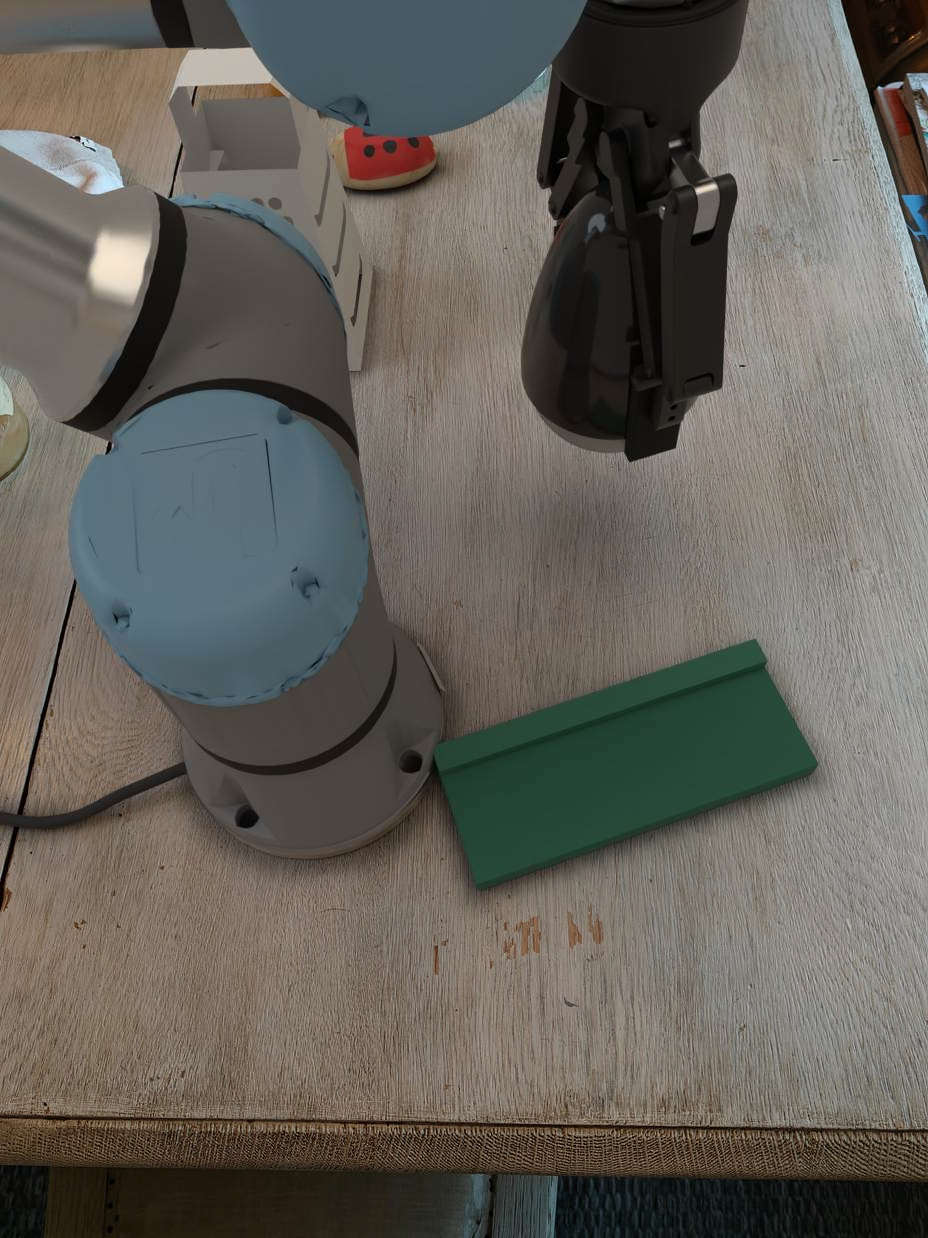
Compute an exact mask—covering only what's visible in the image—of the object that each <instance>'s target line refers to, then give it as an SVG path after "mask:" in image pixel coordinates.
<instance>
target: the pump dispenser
mask: <svg viewBox="0 0 928 1238" xmlns="http://www.w3.org/2000/svg"><path fill="white" fill-rule="evenodd" d="M597 178H598V184H597V185H596V186H594V187H593V188H592V189H590V190H589V191H588V192H587V193H585V194H584V195H583V196H582V197H581V199H580V200H579V201H578V202H577V203H576V204H575V206H574V207H573V208H572V209H571V211H570V212H569V214H568V215H567V216H566V218H565V220H564V221H563V223H562V224H561V226H560V228H559V230H558V232H557V234H556V236H555V238H554V240H553V239H552V242H551V244H550V246H549V248H548V251H547V253H546V256H545V258H544V261H543V263H542V266H541V269H540V271H539V274H538V277H537V279H536V283H535V286H534V289H533V293H532V296H531V299H530V304H529V307H528V311H527V317H526V321H525V326H524V331H523V335H522V343H521V351H520V379H521V382H522V387H523V389H524V392H525V394H526V396H527V399H528V400H529V401H530V403H531V404H532V406H533V407H534V409H535V410H536V412H537V414H538V415H539V417H540V419H541V420H542V421H543V422H544V424H545V425H546V426H547V427H548V428H549V429H550V431H552V432H553V433H554V434H555V435H556V436H558V437H559V438H560V439H562V440H563V441H565V442H566V443H569V444H571V445H572V446H574V447H577V448H580V449H582V450H584V451H589V452H593V453H601V454H619V453H624V448H625V440H626V432H627V424H628V416H629V408H630V400H631V392H632V381H631V377H630V376H632V375H634V368H635V366H638V365H641V364H644V359H643V351H642V343H641V335H640V327H639V319H638V311H637V303H636V295H635V287H634V279H633V271H632V263H631V255H630V247H629V240H628V238H627V237H626V236H624V235H622V234H620V233H619V232H618V231H617V228H616V223H615V216H614V208H613V200H612V193H611V185H610V180H609V179H608V178H607V177H606V176H605V175H604V174H603V173H602V171H601V172H600V173H599V174H598V176H597ZM666 199H667V196H665V197H664V198H661V199H657V200H654V201H650V202H647V203H643V204H638V205H635V204H634V205H635V212H636V214H638V213H642V212H645V211H649V210H652V209H656V208H659V207H660V206H661V205H663V204H666ZM699 397H700V396H697V397H694V398H691V399H688V400H687V405H686V410H685V415H686V414H687V413H688V412H689V411H690V410H691V409H692V407H693V406H694V405H695V403H696V402H697V400H698V398H699Z"/></svg>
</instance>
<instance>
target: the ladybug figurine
mask: <svg viewBox="0 0 928 1238" xmlns="http://www.w3.org/2000/svg"><path fill="white" fill-rule="evenodd" d="M329 148H330V150H331V153H332V156H333V159H334V162H335V165H336V168H337V171H338V174H339V176H340V179H341V182H342V185H343V187H344V188H349V189H353V190H360V191H374V190H387V189H394V188H398V187H402V186H406V185H409V184H412V183H414V182H416V181H418V180H421V179H422V178H424V177H425V176H427V175H428V174H429V173H430V172H432V170H433V169H434V168H435V166H436V165H437V162H438V158H439V157H440V154H441V150H440V147H439V146H437V145H435V144H434V142H433V140H432V139H431V136H421V137H410V138H407V137H385V136H379V135H373V134H368V133H365V132H364V131H363V130H362V129H361V128H359V127H354V126H350V127H348V128H345V129H344V130H342V131H341V132H339V134H337V135H336V136H335V137H334V138H333V139H332V141H331V142H330V145H329Z"/></svg>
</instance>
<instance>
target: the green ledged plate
mask: <svg viewBox="0 0 928 1238" xmlns="http://www.w3.org/2000/svg"><path fill="white" fill-rule="evenodd" d="M767 663H768V658H767V657H766V654H765V653H764V651H763V649H762V647H761V646H760V644H759V641H758V640H757V639H756V638H752V639H750V640H746V641H743V642H740V643H737V644H734V645H731V646H728V647H725V648H722V649H719V650H716V651H713V652H710V653H707V654H704V655H701V656H699V657H695V658H691V659H688V660H685V661H683V662H680V663H677V664H674V665H671V666H668V667H666V668H661V669H659V670H656V671H653V672H649V673H647V674H643V675H641V676H638V677H635V678H633V679H630V680H627V681H623V682H620V683H618V684H617V683H616V684H615V685H611V686H608V687H605V688H602V689H599V690H596V691H593V692H590V693H588V694H585V695H582V696H581V695H580V696H578V697H576V698H573V699H569V700H566V701H564V702H560V703H557V704H555V705H552V706H549V707H545V708H543V709H540V710H539V709H538V710H536V711H534V712H531V713H528V714H524V715H522V716H518V717H515V718H512V719H509V720H506V721H504V722H501V723H497V724H494V725H492V726H488V727H486V728H482V729H479V730H477V731H474V732H471V733H468V734H465V735H461V736H459V737H456V738H453V739H449V740H447V741H445V742H444V743H441V744H438V745H436V747H435V750H434V753H433V755H434V759H435V762H436V766H437V774H438V776H439V779H440V783H441V786H442V788H443V790H444V794H445V797H446V800H447V803H448V806H449V810H450V812H451V815H452V819H453V821H454V824H455V827H456V831H457V833H458V837H459V839H460V842H461V845H462V848H463V851H464V854H465V856H466V860H467V863H468V865H469V868H470V872H471V874H472V877H473V880H474V884H475V887H476V889H477V891H478V892H481V891H483V890H487V889H488V888H491V887H494V886H497V885H500V884H503V883H505V882H508V881H511V880H514V879H518V878H520V877H523V876H526V875H529V874H531V873H535V872H537V871H540V870H542V869H546V868H548V867H551V866H554V865H557V864H560V863H563V862H565V861H568V860H571V859H575V858H577V857H580V856H582V855H585V854H588V853H591V852H594V851H596V850H600V849H603V848H606V847H608V846H611V845H614V844H617V843H619V842H622V841H625V840H629V839H631V838H633V837H636V836H639V835H642V834H645V833H648V832H651V831H654V830H656V829H659V828H662V827H665V826H667V825H668V826H669V825H670V824H674V823H676V822H679V821H682V820H685V819H687V818H690V817H694V816H696V815H699V814H701V813H705V812H708V811H710V810H713V809H716V808H719V807H721V806H722V807H723V806H725V805H728V804H730V803H734V802H736V801H739V800H742V799H744V798H747V797H750V796H753V795H756V794H758V793H761V792H764V791H767V790H770V789H773V788H775V787H776V788H777V787H778V786H781V785H784V784H788V783H790V782H793V781H795V780H798V779H799V780H800V779H801V778H804V777H806V776H810V775H812V774H813V773H814V772H815V771H816V769H817V768H818V767H819V762H818V760H817V759H816V756H815V755H814V753H813V751H812V750H811V747H810V746H809V744H808V742H807V740H806V739H805V737H804V735H803V733H802V731H801V730H800V728H799V726H798V724H797V721H795V719H794V717H793V714H792V713H791V711H790V710H789V708H788V706H787V704H786V702H785V700H784V699H783V697H782V695H781V693H780V691H779V690H778V688H777V686H776V684H775V683H774V681H773V679H772V677H771V675H770V673H769V672H768V670H767V668H766V665H767Z"/></svg>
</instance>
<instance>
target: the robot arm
mask: <svg viewBox="0 0 928 1238" xmlns="http://www.w3.org/2000/svg"><path fill="white" fill-rule="evenodd" d="M749 3H750V0H0V56H7V55H29V54H33V55H34V54H51V53H52V54H55V53H77V52H79V53H81V52H100V51H124V50H143V49H144V50H146V49H165V48H166V49H194V48H197V49H233V48H252V49H253V51H254V52H255V54H256V56H257V57H258V59H259V60H260V61H261V63H262V64H263V65H264V67H265V68H266V69H267V71H268V72H269V73H270V74H271V75H272V76H273V77H274V78H275V79H276V80H277V81H278V82H279V83H280V84H281V85H282V87H283V88H284V89H286V90H287V91H288V92H289V93H290V94H291V95H293V96H294V97H295V98H296V99H297V100H299V101H300V102H301V103H303V104H305V105H307V106H309V107H310V108H312V109H314V110H317V112H318V111H319V112H320V113H322V114H323V115H326V116H328V117H330V118H332V119H333V120H336V121H339V122H340V123H344V124H346V125H349V126H351V127H353V126H354V127H359V128H361V129H362V130H363V131H364V132H365V133H368V134H373V135H379V136H385V137H407V138H410V137H421V136H429V137H431V136H435V135H439V134H445V133H448V132H449V133H450V132H453V131H455V130H458V129H461V128H464V127H467V126H470V125H473V124H474V123H476V122H478V121H480V120H482V119H484V118H486V117H489V116H491V115H492V114H494V113H495V112H498V111H499V110H500V109H502V108H503V107H505V106H507V105H508V104H509V103H510V102H512V101H514V100H515V99H516V98H517V97H518V96H519V95H521V94H522V93H523V92H524V91H525V90H526V89H528V88H529V87H531V86H532V84H533V83H534V82H535V81H536V80H538V78H539V77H540V76H541V75H542V74H543V73H544V72H545V71H546V70H547V69H548V67H549V66H550V65H551V71H550V78H549V84H548V85H549V86H548V91H547V99H546V106H545V112H544V119H543V125H542V133H541V140H540V145H539V152H538V160H537V165H536V182H537V184H538V186H539V188H540V189H541V190H542V191H544V190H546V189H550V192H551V193H550V196H549V198H548V203H547V204H548V205H547V206H548V212H549V214H550V216H551V218H552V220H553V221H556V225H555V226H553V239H552V241H553V240H554V238H555V236H556V234H557V232H558V230H559V228H560V226H561V224H562V223H563V221H564V220H565V218H566V216H567V215H568V214H569V212H570V211H571V209H572V208H573V207H574V206H575V204H576V203H577V202H578V201H579V200H580V199H581V197H582V196H583V195H584V194H585V193H587V192H588V191H589V190H590V189H592V188H593V187H594V186H596V185H597V184H598V178H597V176H598V174H599V173H600V172H601V171H602V173H603V174H604V175H605V176H606V177H607V178H608V179H609V180H610V185H611V193H612V200H613V208H614V216H615V223H616V228H617V231H618V232H619V233H620V234H622V235H624V236H626V237H627V238H628V240H629V247H630V255H631V263H632V271H633V279H634V287H635V295H636V303H637V311H638V319H639V327H640V335H641V343H642V351H643V359H644V364H641V365H638V366H635V368H634V375H632V376H630V377H631V381H632V392H631V400H630V408H629V416H628V424H627V432H626V440H625V448H624V452H623V454H624V456H625V458H626V459H627V461H628V463H633V462H636V461H637V462H638V461H640V460H643V459H646V458H649V457H653V456H656V455H659V454H662V453H665V452H669V451H671V450H674V449H675V450H676V449H677V445H678V439H679V435H680V429H681V426H682V425H681V424H682V422H683V421H684V419H685V415H686V414H685V410H686V405H687V400H688V399H691V398H694V397H697V396H699V397H700V396H704V395H708V394H710V393H712V392H716V391H719V390H721V389H722V388H723V383H724V363H725V361H724V360H725V337H726V335H725V334H726V308H727V287H728V286H727V285H728V283H727V282H728V259H729V233H730V230H731V226H732V222H733V217H734V213H735V209H736V206H737V203H738V195H739V187H738V185H737V184H738V183H737V181H736V178H735V176H734V175H733V174H732V173H729V172H728V173H723V174H719V175H716V176H712V177H710V175H709V174H708V172H707V170H706V169H705V168H704V166H703V165H702V163H701V162H700V157H701V153H702V137H701V110H702V107H703V106H704V105H705V103H706V101H707V100H708V99H709V97H711V95H712V94H713V93H714V92H715V90H717V88H718V87H719V86H720V85H721V84H722V83H723V82H725V80H726V79H727V78H728V76H730V74H731V73H732V72H733V69H734V68H735V66H736V64H737V61H738V59H739V56H740V54H741V53H740V52H741V47H742V42H743V36H744V31H745V26H746V19H747V14H748V8H749ZM665 196H667V199H666V204H663V205H661V206H660V207H659V208H656V209H652V210H649V211H645V212H642V213H638V214H636V212H635V205H638V204H643V203H647V202H650V201H654V200H657V199H661V198H664V197H665ZM634 204H635V205H634ZM0 365H2V366H5V367H7V368H10V369H12V370H15V371H17V372H19V373H20V374H21V375H22V376H23V377H24V378H25V379H26V381H27V382H28V385H29V387H30V388H31V390H32V392H33V395H34V396H35V398H36V400H37V403H38V405H39V407H40V409H41V410H42V412H43V414H44V416H45V417H47V418H48V419H50V420H52V421H56V422H58V423H60V424H62V425H65V426H67V427H70V428H73V429H76V430H78V431H81V432H84V433H87V434H89V435H92V436H94V437H97V438H100V439H102V440H105V441H107V442H109V443H111V444H112V445H113V447H112V449H111V450H110V451H109V452H108V453H107V454H95V455H93V457H92V458H91V459H90V462H89V463H88V465H87V466H86V468H85V470H84V471H83V473H82V476H81V478H80V480H79V482H78V485H77V487H76V490H75V493H74V496H73V498H72V503H71V507H70V512H69V519H68V534H67V536H68V537H67V539H68V540H67V542H68V550H69V559H70V566H71V568H72V572H73V575H74V579H75V582H76V585H77V587H78V589H79V592H80V594H81V597H82V598H83V600H84V602H85V604H86V605H87V607H88V609H89V610H90V611H91V614H92V617H93V620H94V623H95V625H96V627H97V628H98V629H99V631H101V634H102V636H103V638H104V639H105V641H106V642H107V643H108V644H109V645H110V647H111V648H112V650H113V652H114V653H115V655H116V656H117V657H118V659H120V661H122V662H123V663H124V664H125V665H126V666H127V667H128V668H130V670H132V671H133V673H135V674H136V675H137V676H138V677H139V678H140V679H141V680H142V681H143V682H144V683H145V684H146V685H147V686H148V688H149V689H150V690H151V691H152V692H153V693H154V695H155V696H156V697H157V698H158V699H159V701H160V702H161V703H162V704H163V706H164V707H165V708H166V709H167V710H168V712H169V713H170V714H171V715H172V716H173V718H174V719H175V720H176V721H177V723H178V724H179V725H180V726H181V744H182V745H181V746H182V747H181V749H182V750H181V751H182V757H183V761H181V762H179V763H177V764H174V765H171V766H169V767H166V768H165V769H163V770H162V769H161V770H160V771H158V772H155V773H153V774H150V775H148V776H146V777H143V778H141V779H139V780H136V781H134V782H132V783H128V784H127V785H125V786H123V787H122V786H121V787H120V788H118V789H116V790H114V791H112V792H110V793H108V794H106V795H105V796H102V797H100V798H98V799H97V800H95V801H93V802H91V803H89V804H87V805H85V806H83V807H80V808H78V809H75V810H72V811H69V812H65V813H60V814H54V815H53V814H52V815H38V816H37V815H23V814H16V813H11V812H6V811H2V810H1V811H0V825H4V826H9V827H16V828H23V829H35V830H37V829H39V830H41V829H43V830H44V829H54V828H62V827H67V826H71V825H75V824H78V823H80V822H83V821H86V820H88V819H91V818H93V817H95V816H97V815H99V814H101V813H103V812H105V811H106V810H108V809H111V808H112V807H114V806H116V805H117V804H121V803H122V802H124V801H126V800H128V799H130V798H132V797H135V796H137V795H140V794H142V793H144V792H146V791H149V790H151V789H153V788H156V787H159V786H161V785H163V784H165V783H168V782H171V781H173V780H175V779H177V778H180V777H183V776H184V775H187V778H188V781H189V783H190V786H191V788H192V789H193V791H194V793H195V796H196V797H197V798H198V800H199V801H200V803H201V804H202V806H203V807H204V808H205V809H206V811H207V812H208V813H209V814H210V815H211V817H212V818H213V819H214V820H215V821H216V822H217V823H218V824H219V825H220V826H221V827H222V828H224V830H225V831H227V833H229V834H230V835H232V836H233V837H234V838H236V839H237V840H238V841H239V842H242V843H243V844H245V845H247V846H249V847H251V848H253V849H255V850H258V851H259V852H263V853H266V854H269V855H271V856H275V857H281V858H287V859H296V860H317V859H326V858H330V857H335V856H340V855H343V854H347V853H350V852H353V851H356V850H359V849H361V848H363V847H365V846H367V845H369V844H371V843H373V842H375V841H377V840H378V839H380V838H382V837H383V836H385V835H386V834H388V833H389V832H390V831H392V830H393V829H394V828H396V827H397V826H398V825H400V823H402V821H403V822H404V820H405V819H406V818H407V817H408V816H409V815H410V814H411V813H412V812H413V811H414V810H415V808H416V807H417V806H418V805H419V804H420V802H421V801H422V799H423V798H424V797H425V795H426V793H427V792H428V790H429V788H431V785H432V784H433V781H434V779H435V777H436V774H437V773H438V771H437V766H436V762H435V759H434V755H433V753H434V750H435V747H436V745H438V744H441V743H444V742H446V725H447V724H446V713H445V708H444V702H443V698H442V697H443V696H442V691H443V692H444V693H447V691H446V689H445V686H444V684H443V682H442V681H441V679H440V677H439V675H438V673H437V671H436V669H435V667H434V665H433V663H432V661H431V658H430V657H429V654H428V653H427V650H426V648H425V647H424V646H423V645H422V644H421V643H419V642H418V641H416V643H417V644H416V643H415V642H414V641H413V640H412V639H411V638H410V637H409V636H408V635H407V634H406V633H405V632H403V631H402V630H400V628H398V627H397V626H395V625H394V624H393V623H392V622H390V619H389V615H388V612H387V607H386V605H385V600H384V597H383V594H382V590H381V586H380V582H379V578H378V571H377V567H376V562H375V556H374V550H373V544H372V538H371V531H370V524H369V518H368V516H369V515H368V510H367V502H366V496H365V489H364V482H363V481H364V480H363V475H362V474H363V473H362V470H361V461H360V449H359V441H358V431H357V425H356V416H355V410H354V409H355V408H354V401H353V392H352V384H351V375H350V371H349V367H348V359H347V332H346V331H345V323H344V319H343V314H342V310H341V308H340V305H339V302H338V300H337V298H336V296H335V291H334V288H333V284H332V281H331V278H330V275H329V273H328V271H327V268H326V266H325V264H324V263H323V261H322V259H321V257H320V256H319V254H318V253H317V251H316V250H315V249H314V247H313V246H312V244H311V243H310V242H309V241H308V240H307V239H306V237H305V236H304V235H303V234H302V233H301V232H300V231H299V230H298V229H296V228H295V227H294V226H293V225H292V224H291V223H289V222H288V221H287V220H285V219H284V218H283V217H281V216H280V215H278V214H276V213H275V212H273V211H272V210H270V209H268V208H266V207H264V206H262V205H259V204H257V203H255V202H252V201H250V200H247V199H244V198H241V197H237V196H233V195H228V194H222V193H214V194H213V195H212V197H211V198H206V199H196V195H194V194H185V193H184V194H179V195H176V196H172V197H170V198H167V197H166V196H165V197H164V196H163V195H161V194H160V193H158V192H157V191H154V190H153V189H151V188H150V187H147V186H145V185H142V184H141V183H133V184H129V185H126V186H121V187H119V188H114V189H111V190H109V191H105V192H102V193H89V192H86V191H84V190H82V189H80V188H78V187H77V186H75V185H74V184H72V183H69V182H68V181H65V180H64V179H62V178H61V177H59V176H56V175H55V174H54V173H52V172H50V171H47V170H46V169H44V168H42V167H40V166H39V165H37V164H35V163H34V162H32V161H29V160H28V159H26V158H24V157H22V156H21V155H18V154H17V153H15V152H13V151H11V150H9V149H8V148H6V147H5V146H2V145H0ZM441 690H442V691H441Z"/></svg>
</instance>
